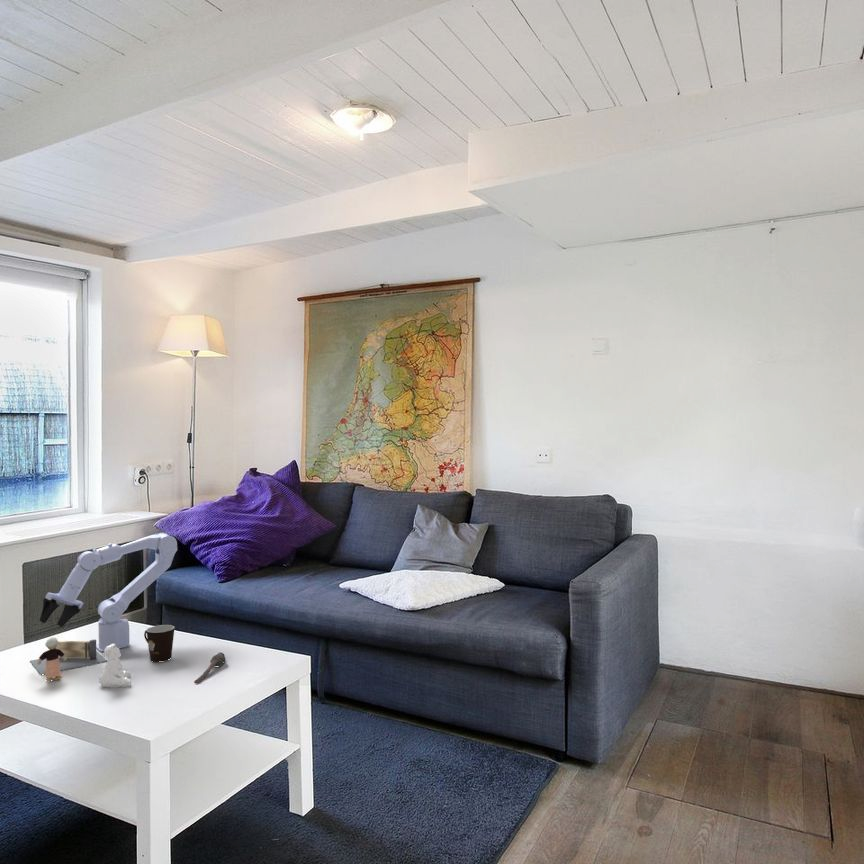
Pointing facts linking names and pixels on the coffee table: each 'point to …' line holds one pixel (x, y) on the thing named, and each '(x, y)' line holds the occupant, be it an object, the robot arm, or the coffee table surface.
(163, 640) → the coffee mug
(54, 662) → the grandmother figurine
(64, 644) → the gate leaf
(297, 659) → the coffee table surface
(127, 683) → the sitting furry creature
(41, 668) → the gate frame
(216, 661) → the natural artifact
